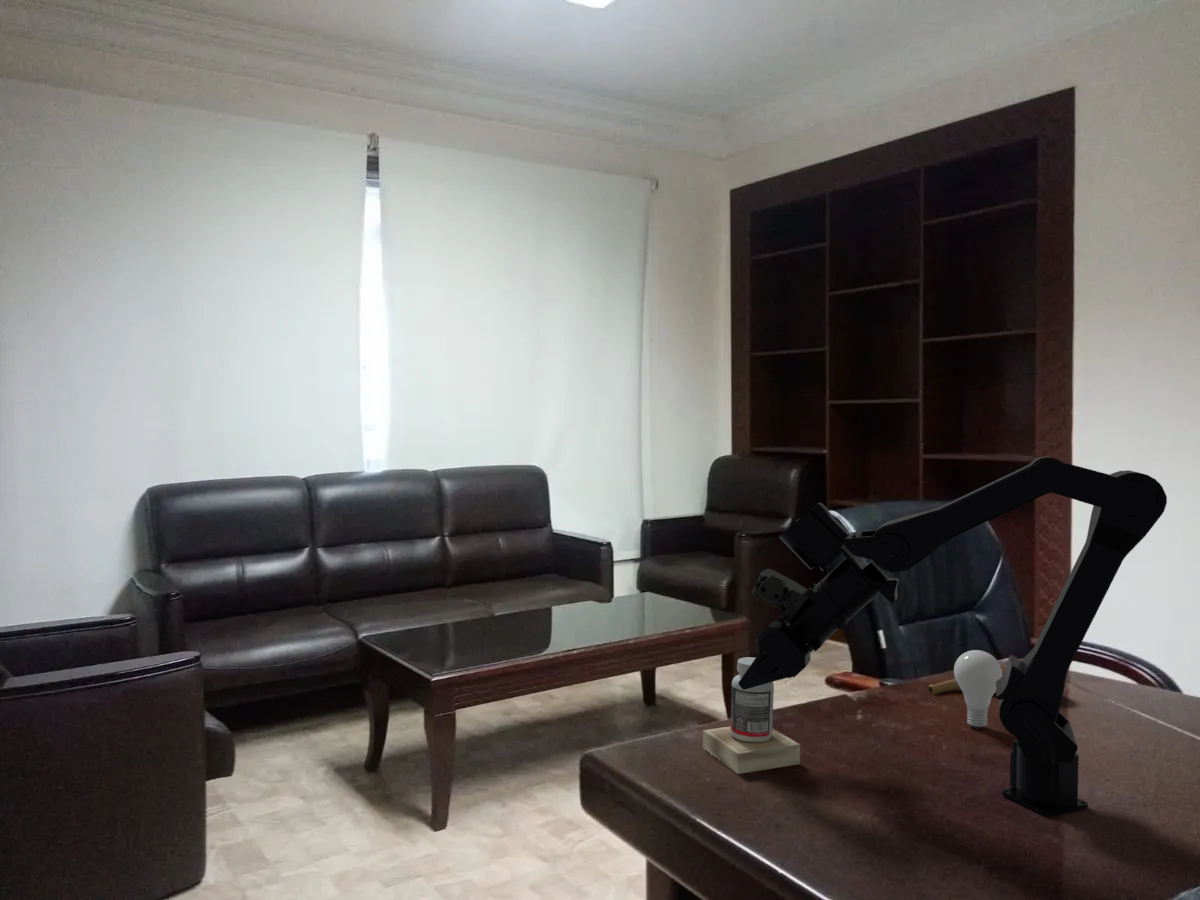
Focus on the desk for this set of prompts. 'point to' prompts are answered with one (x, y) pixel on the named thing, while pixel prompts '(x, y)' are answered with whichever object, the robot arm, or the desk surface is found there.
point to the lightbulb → (977, 683)
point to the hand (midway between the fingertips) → (749, 676)
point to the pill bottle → (751, 708)
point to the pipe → (946, 686)
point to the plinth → (751, 751)
